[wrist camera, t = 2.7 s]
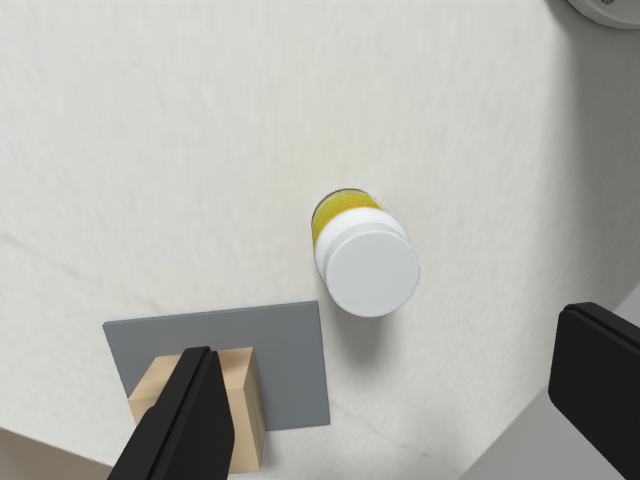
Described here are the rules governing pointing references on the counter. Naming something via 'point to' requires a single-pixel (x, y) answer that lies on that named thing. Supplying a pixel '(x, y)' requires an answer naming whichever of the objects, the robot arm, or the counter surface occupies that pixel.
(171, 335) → the mat
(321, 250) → the supplement bottle
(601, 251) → the counter surface
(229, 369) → the oak block
